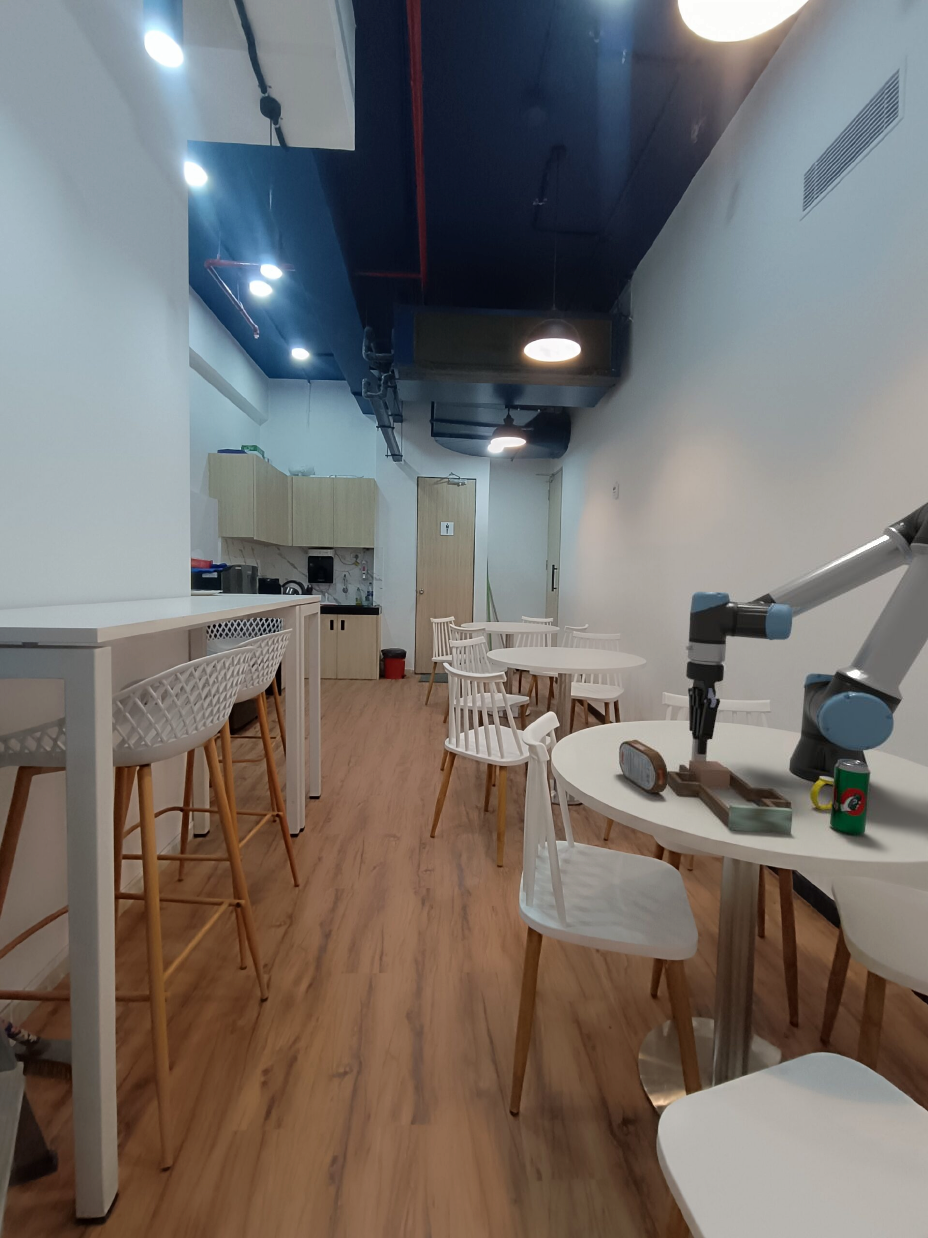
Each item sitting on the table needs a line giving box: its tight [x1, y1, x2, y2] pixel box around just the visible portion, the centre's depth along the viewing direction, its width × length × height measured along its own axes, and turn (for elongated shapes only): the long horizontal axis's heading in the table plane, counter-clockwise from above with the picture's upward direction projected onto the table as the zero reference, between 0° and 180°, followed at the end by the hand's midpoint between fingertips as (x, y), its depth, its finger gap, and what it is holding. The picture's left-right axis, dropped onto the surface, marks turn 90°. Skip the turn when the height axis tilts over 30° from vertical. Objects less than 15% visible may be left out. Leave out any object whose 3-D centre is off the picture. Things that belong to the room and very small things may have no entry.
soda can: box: [829, 759, 871, 837], centre depth 96 cm, size 5×5×12 cm
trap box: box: [667, 764, 794, 835], centre depth 108 cm, size 18×27×4 cm, turn 177°
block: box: [688, 759, 730, 789], centre depth 118 cm, size 6×6×4 cm
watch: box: [810, 776, 834, 811], centre depth 106 cm, size 6×3×6 cm, turn 104°
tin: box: [618, 739, 668, 794], centre depth 115 cm, size 15×3×8 cm, turn 13°
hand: (698, 766), depth 124 cm, fingers closed
